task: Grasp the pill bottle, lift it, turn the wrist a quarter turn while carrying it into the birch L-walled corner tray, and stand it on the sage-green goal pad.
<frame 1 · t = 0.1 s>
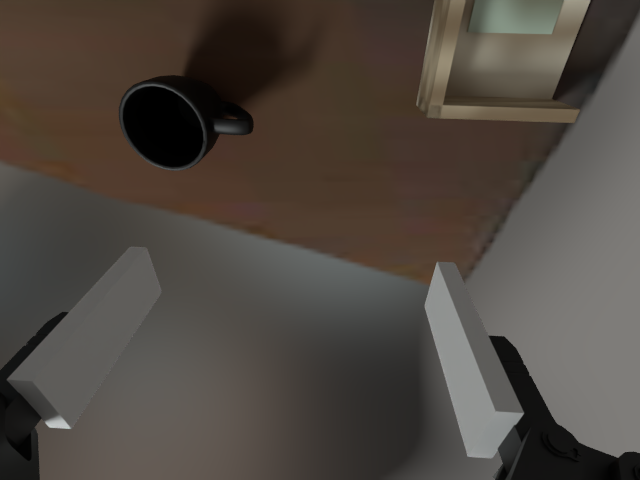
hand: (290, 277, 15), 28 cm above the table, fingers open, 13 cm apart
mug 2: (216, 107, 38), on the table
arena: (503, 20, 32), on the table
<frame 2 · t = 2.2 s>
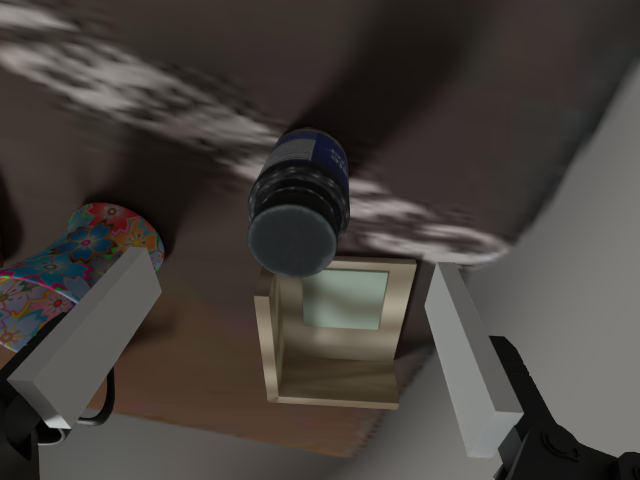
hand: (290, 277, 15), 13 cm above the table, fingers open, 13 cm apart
mug: (110, 235, 31), on the table
pill bottle: (309, 163, 26), on the table
mug 2: (98, 349, 42), on the table
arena: (336, 314, 35), on the table
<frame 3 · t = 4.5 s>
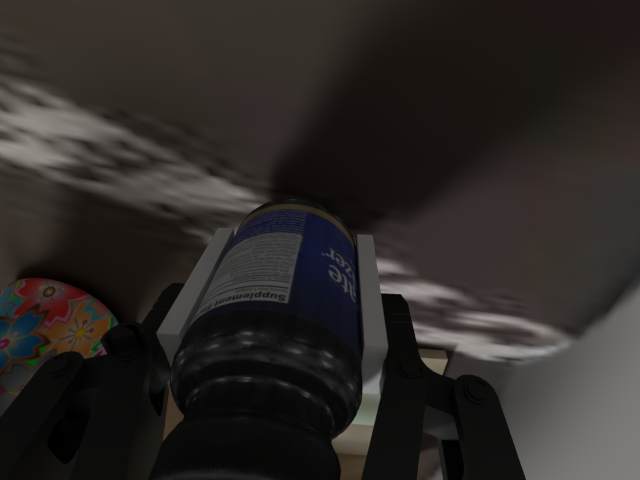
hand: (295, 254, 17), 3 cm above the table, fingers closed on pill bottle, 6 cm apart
mug: (56, 311, 25), on the table
pill bottle: (296, 244, 17), point 2 cm above the table, touching gripper
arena: (341, 405, 28), on the table
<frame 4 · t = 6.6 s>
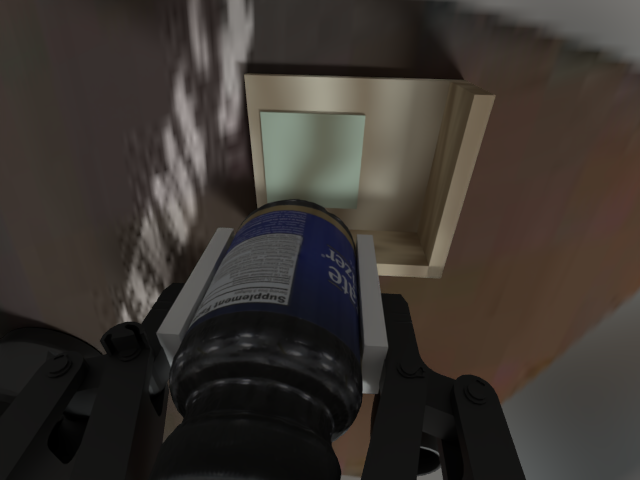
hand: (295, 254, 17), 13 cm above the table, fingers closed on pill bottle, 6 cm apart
pill bottle: (296, 245, 17), point 13 cm above the table, touching gripper
mug 2: (398, 376, 45), on the table
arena: (347, 167, 28), on the table
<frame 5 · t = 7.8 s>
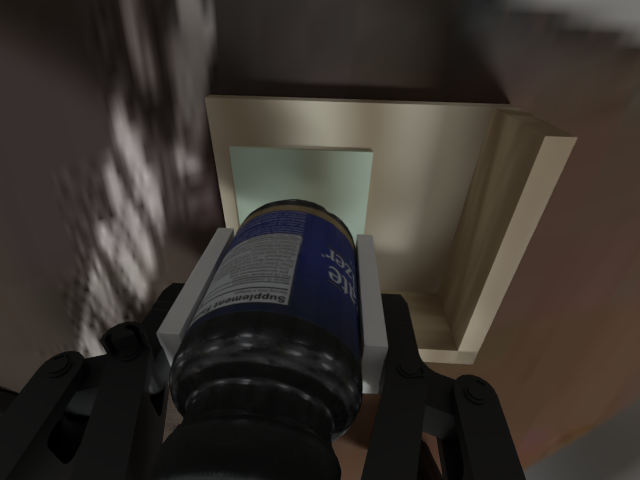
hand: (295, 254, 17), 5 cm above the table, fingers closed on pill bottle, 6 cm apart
pill bottle: (296, 245, 17), point 5 cm above the table, touching gripper
mug 2: (407, 440, 38), on the table
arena: (348, 214, 21), on the table
when the fingers open (2 cm above the table, at t = 8.8 s): pill bottle stays where it is, resting on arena.
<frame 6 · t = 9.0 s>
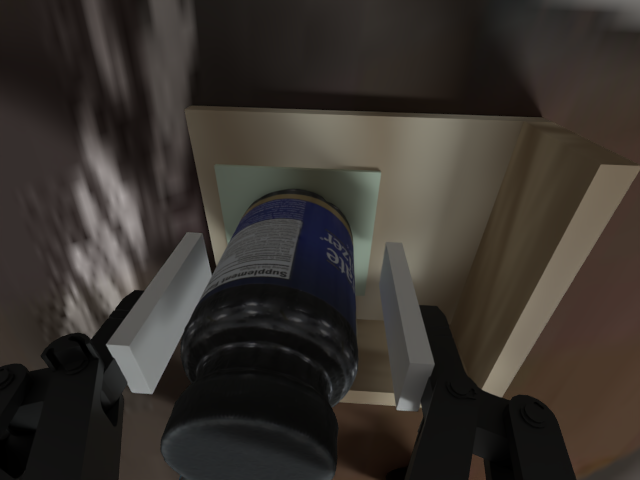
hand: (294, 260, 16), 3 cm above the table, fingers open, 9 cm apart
pill bottle: (296, 234, 18), point 1 cm above the table, touching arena
mug 2: (413, 468, 36), on the table
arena: (352, 238, 19), on the table
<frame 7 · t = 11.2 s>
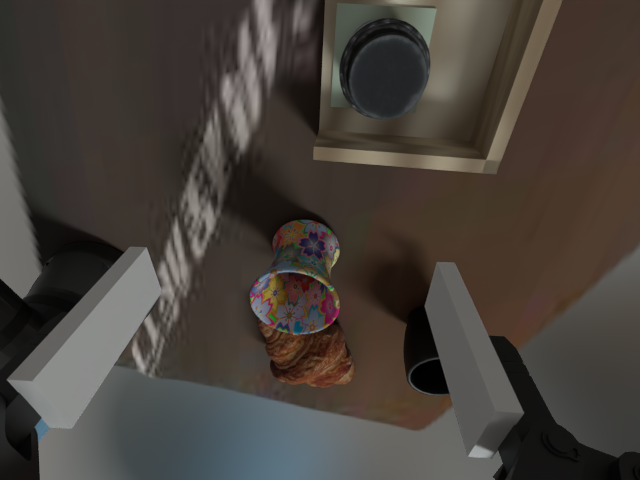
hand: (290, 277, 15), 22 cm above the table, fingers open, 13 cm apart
pastry: (311, 335, 53), on the table
mug: (306, 251, 43), on the table
pill bottle: (377, 59, 29), point 1 cm above the table, touching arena
mug 2: (430, 308, 46), on the table
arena: (410, 69, 29), on the table
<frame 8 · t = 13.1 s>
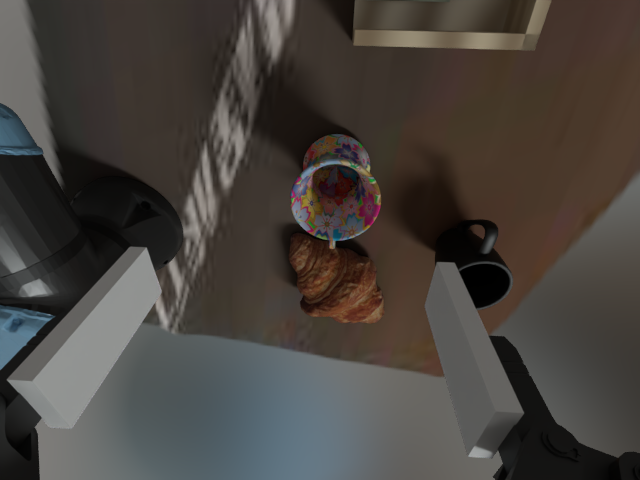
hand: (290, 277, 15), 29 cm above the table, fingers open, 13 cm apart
pastry: (340, 274, 53), on the table
mug: (335, 174, 43), on the table
mug 2: (458, 231, 47), on the table
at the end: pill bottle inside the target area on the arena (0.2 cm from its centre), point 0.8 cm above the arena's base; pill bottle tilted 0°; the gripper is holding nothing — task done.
